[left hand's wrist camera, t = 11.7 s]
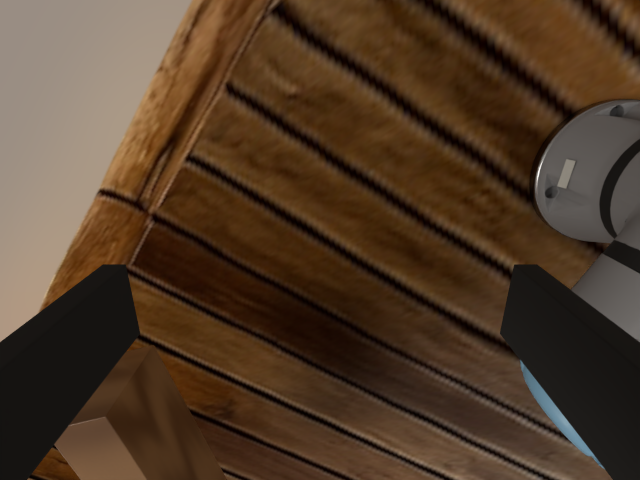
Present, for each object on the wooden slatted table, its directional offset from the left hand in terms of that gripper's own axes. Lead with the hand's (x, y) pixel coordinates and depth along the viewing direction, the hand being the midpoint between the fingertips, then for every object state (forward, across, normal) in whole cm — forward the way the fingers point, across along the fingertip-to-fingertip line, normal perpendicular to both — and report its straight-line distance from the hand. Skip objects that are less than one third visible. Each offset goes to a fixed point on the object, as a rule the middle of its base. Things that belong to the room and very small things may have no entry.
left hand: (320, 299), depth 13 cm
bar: (+19, -16, -28) cm, 37 cm away
